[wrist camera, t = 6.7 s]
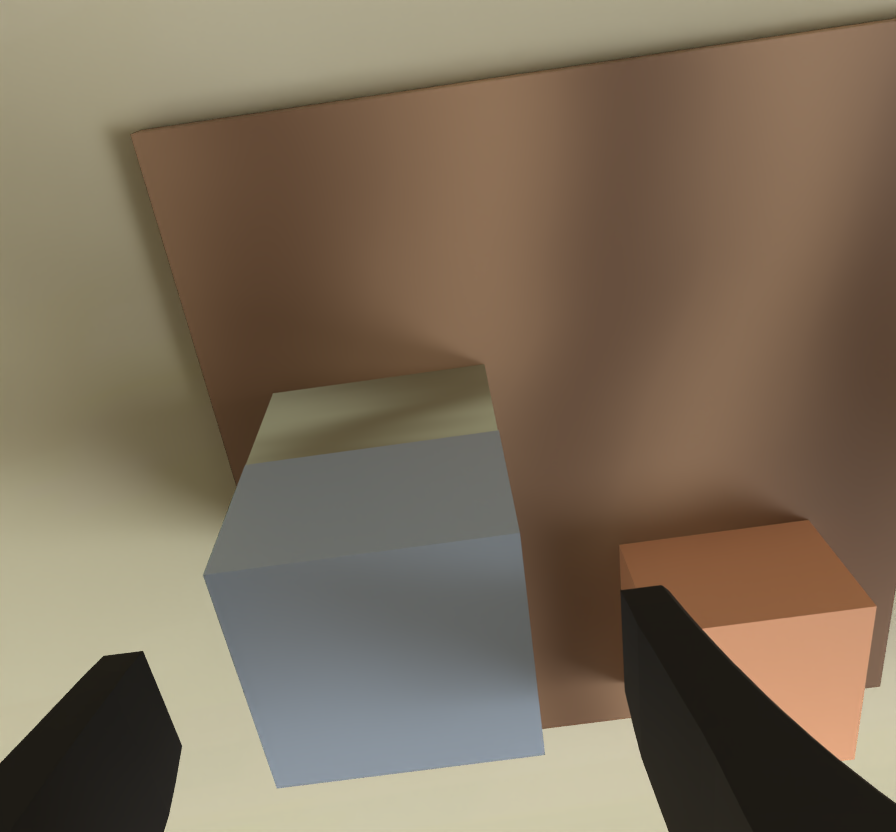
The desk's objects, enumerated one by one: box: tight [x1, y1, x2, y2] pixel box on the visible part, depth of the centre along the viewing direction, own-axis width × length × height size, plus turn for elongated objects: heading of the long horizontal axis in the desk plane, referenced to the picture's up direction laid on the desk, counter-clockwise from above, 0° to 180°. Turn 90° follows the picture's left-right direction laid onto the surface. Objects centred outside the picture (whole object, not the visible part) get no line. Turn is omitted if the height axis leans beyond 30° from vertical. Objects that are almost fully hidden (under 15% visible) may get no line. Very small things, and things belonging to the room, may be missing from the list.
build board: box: [130, 18, 896, 729], centre depth 16 cm, size 15×16×4 cm
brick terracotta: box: [619, 520, 877, 761], centre depth 18 cm, size 4×4×3 cm
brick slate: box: [203, 430, 545, 788], centre depth 13 cm, size 4×4×3 cm
